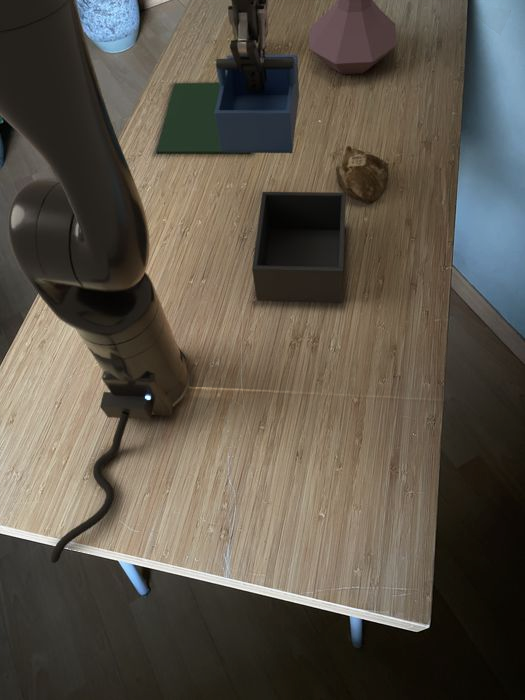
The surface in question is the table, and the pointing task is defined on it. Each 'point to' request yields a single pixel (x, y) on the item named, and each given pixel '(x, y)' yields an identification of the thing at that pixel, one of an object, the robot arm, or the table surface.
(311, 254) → the charcoal bin
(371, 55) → the flask
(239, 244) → the table surface
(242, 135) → the blue bin
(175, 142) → the green mat
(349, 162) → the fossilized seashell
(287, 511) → the table surface
